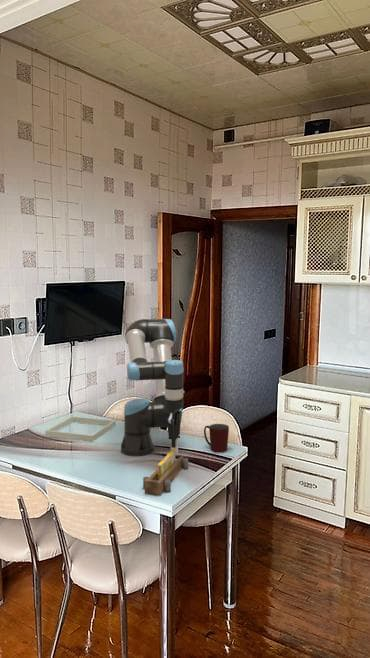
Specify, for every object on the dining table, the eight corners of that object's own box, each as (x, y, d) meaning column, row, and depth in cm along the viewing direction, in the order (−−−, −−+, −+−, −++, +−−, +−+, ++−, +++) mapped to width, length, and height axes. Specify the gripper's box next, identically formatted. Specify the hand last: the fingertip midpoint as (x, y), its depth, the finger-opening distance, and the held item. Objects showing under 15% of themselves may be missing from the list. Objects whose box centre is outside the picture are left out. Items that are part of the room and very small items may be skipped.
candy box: (171, 469, 205) (171, 449, 205) (176, 469, 205) (176, 450, 204) (157, 485, 190) (156, 464, 189) (162, 485, 190) (162, 465, 189)
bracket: (138, 492, 183) (138, 479, 183) (164, 464, 210) (164, 453, 210) (166, 496, 180) (166, 483, 180) (188, 467, 207) (188, 456, 207)
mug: (199, 450, 228) (199, 426, 227) (208, 444, 236) (208, 421, 234) (223, 454, 222) (223, 430, 221) (231, 448, 230) (231, 425, 228)
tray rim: (45, 436, 246) (45, 430, 246) (72, 421, 271) (72, 416, 270) (92, 441, 239) (92, 435, 238) (115, 426, 263) (115, 420, 263)
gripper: (178, 402, 195) (178, 460, 198) (187, 395, 207) (187, 449, 210) (160, 401, 197) (160, 458, 200) (170, 393, 210) (170, 447, 212)
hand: (174, 454), depth 205 cm, fingers closed
